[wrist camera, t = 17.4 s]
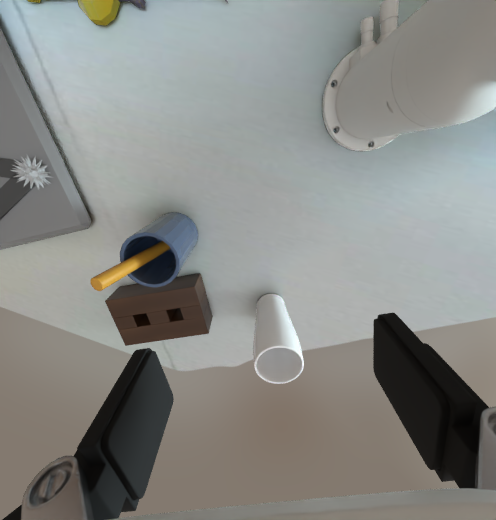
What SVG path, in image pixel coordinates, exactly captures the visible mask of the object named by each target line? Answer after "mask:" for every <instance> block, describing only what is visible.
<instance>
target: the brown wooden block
mask: <svg viewBox="0 0 496 520" xmlns="http://www.w3.org/2000/svg"><path fill="white" fill-rule="evenodd" d="M105 302H106V304H107V306H108V308H109V311H110V313H111V315H112V317H113V319H114V322H115V324H116V326H117V328H118V330H119V332H120V335H121V337H122V339H123V341H124V343H125V345H133V344H140V343H146V342H153V341H160V340H167V339H174V338H180V337H187V336H194V335H201V334H208V333H209V329H210V325H211V321H212V313H211V309H210V306H209V302H208V299H207V295H206V292H205V288H204V285H203V281H202V277H201V274H200V273H199V274H193V275H187V276H181V277H175V278H174V279H173V281H172V282H170V283H168V284H167V285H165V286H161V287H146V286H143V285H141V284H133V285H127V286H121V287H119V288H118V289H117V290H116V291H115V292H114V293H113V294H112V295H111V296H110V297H109V298H108V299H107V300H106V301H105Z"/></svg>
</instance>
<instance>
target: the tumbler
mask: <svg viewBox="0 0 496 520" xmlns="http://www.w3.org/2000/svg"><path fill="white" fill-rule="evenodd" d="M197 240H198V232H197V228H196V226H195V224H194V223H193V221H192V220H191V219H190V218H189V217H187V216H186V215H184V214H181V213H177V212H171V213H166V214H164V215H162V216H161V217H159V218H158V219H156V220H155V221H153V222H152V223H150V224H149V225H147V226H146V227H144V228H142V229H141V230H139V231H138V232H136V233H135V234H133V235H132V236H130V237H129V238H128V239H127V240H126V241H125V242H124V243H123V245H122V248H121V251H120V262H123V261H125V260H127V259H129V258H131V257H133V256H135V255H136V254H138V253H140V252H142V251H144V250H146V249H148V248H150V247H152V246H153V245H155V244H157V243H159V242H161V241H163V242H165V243H166V244H167V245H168V246H169V247H170V248H171V249H169V250H168V251H166V252H164V253H163V254H161V255H159V256H158V257H156V258H154V259H153V260H151V261H149V262H148V263H146V264H144V265H143V266H141V267H139V268H138V269H136V270H134V271H133V272H131V273H130V274H128V276H129V277H130V278H131V279H132V280H134V281H135V282H137V283H138V284H141V285H143V286H146V287H161V286H165V285H167V284H168V283H170V282H172V281H173V279H174V278H175V277H176V276H177V274H178V273H179V271H180V270H181V268H182V266H183V265H184V263H185V262H186V260H187V258H188V257H189V255H190V253H191V252H192V250H193V249H194V247H195V245H196V243H197Z"/></svg>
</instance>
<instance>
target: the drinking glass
mask: <svg viewBox="0 0 496 520" xmlns="http://www.w3.org/2000/svg"><path fill="white" fill-rule="evenodd" d="M256 309H257V313H256V323H255V333H254V344H253V355H254V367H255V371H256V373H257V374H258V376H259V377H260V378H262V379H263V380H265V381H267V382H270V383H275V384H282V383H287V382H290V381H292V380H294V379H295V378H297V377H298V376H299V375H300V374H301V372H302V370H303V367H304V360H303V355H302V350H301V346H300V343H299V339H298V337H297V334H296V331H295V329H294V327H293V324H292V322H291V319H290V317H289V314H288V312H287V309H286V306H285V302H284V300H283V299H282V298H281V297H280V296H278V295H276V294H266V295H264V296H262V297H261V298H260V299H259V300H258V302H257V307H256Z"/></svg>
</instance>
